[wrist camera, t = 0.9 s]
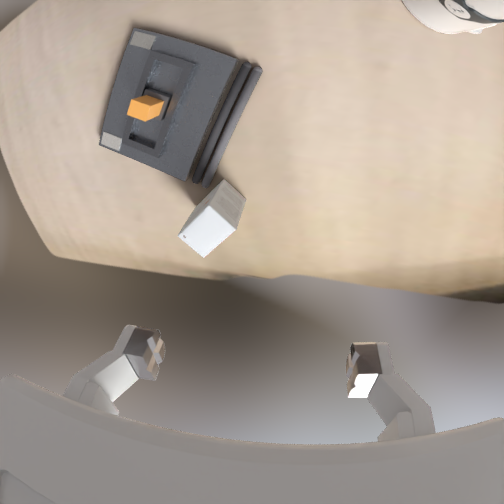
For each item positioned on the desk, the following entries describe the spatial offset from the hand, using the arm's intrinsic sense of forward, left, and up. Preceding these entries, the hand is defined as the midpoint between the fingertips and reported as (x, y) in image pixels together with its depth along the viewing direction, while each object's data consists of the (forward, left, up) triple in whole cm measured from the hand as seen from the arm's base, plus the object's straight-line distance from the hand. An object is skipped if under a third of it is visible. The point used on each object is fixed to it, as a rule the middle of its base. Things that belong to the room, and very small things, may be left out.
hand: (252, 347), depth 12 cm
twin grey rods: (+3, -9, -39) cm, 40 cm away
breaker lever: (+3, -20, -37) cm, 43 cm away
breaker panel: (+3, -20, -39) cm, 44 cm away
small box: (+16, -4, -40) cm, 43 cm away
